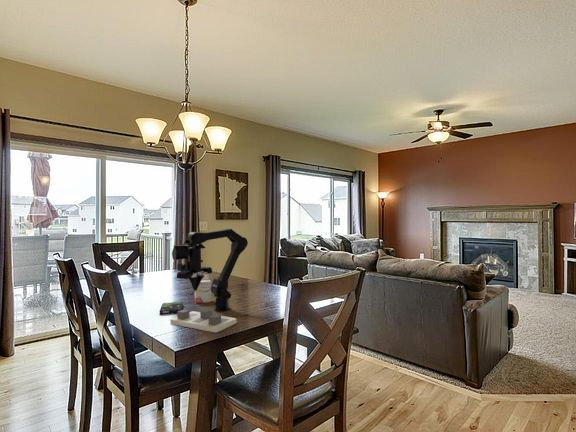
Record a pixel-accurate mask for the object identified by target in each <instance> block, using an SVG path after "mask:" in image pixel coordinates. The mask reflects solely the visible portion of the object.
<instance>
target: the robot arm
mask: <svg viewBox="0 0 576 432" xmlns="http://www.w3.org/2000/svg"><path fill="white" fill-rule="evenodd" d="M224 238H227V239H228V240H229V241H230V242H231V244H230V253H229V255H228V257H227V259H226V262H225V264H224V266H223V268H222V270H221V273H220V274H219V276H218V277H217V278H213V280H212V282H211V294H213V297H214V298H216V299H215V308H213V311H216V312H217V311H218V312H227V311H229V310H231V309H232V307H229V303H230V302H229V299H231V297H232V294H231V292H229V291H228V288H229V279H230V277H231V274H232V272H233V270H234V268H235V265H236V264H237V262H238V259H239V257H240V255H241V254H242V253H243V252H244V251H245V249H246V248H247V246H248V244H249V242H248V239H247V238H246V237H244V236H242V235H240V234H239V233H237V232H236V231H235V230H233V229H232V228H225V229H220V230H213V231H206V232H201V231H198V232H197V231H192V232H191V231H190V232H189V233H188V234H187V236H186V239H185V241H184V242H183V243H182V245H179V244H178V245H177V244H176V245H173V248H172V251H171V257H172V259H173V261H178V260H180V261H181V260H186V263H185V264H184V263H178V264H177V266H176V268H177V271H178V272H177V273H176V279H179V280H180V279H181V280H187V279H188V280H189V282H190V284H191V286H192V288H193V291H194V292H195V291H196V290H197V288H198V286H199V284H200V282H201V280H202V278H205V277H204V275H205V274H203V273H207V275H208V274H209V275H210V274H212V273H213V268H212V267H211V266H202V263H204V260H203V259H202V249H206V246H204V244H203V243H205V242H207V241H210V240H215V239H217V240H218V239H224Z"/></svg>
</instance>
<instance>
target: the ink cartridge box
mask: <svg viewBox="0 0 576 432" xmlns="http://www.w3.org/2000/svg"><path fill="white" fill-rule="evenodd" d="M203 275H204V277H203V278H202V280H201V282H200V284H199V286H198V288H197V290H196V291H195V290H194V303H195V304H200V303H203V304H204V303H212V292H211V284H212V281H211V280H210V276H211V275H210V273H209V274H208V273H207V274H203Z"/></svg>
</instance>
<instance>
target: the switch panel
mask: <svg viewBox="0 0 576 432" xmlns="http://www.w3.org/2000/svg"><path fill="white" fill-rule="evenodd" d="M212 315H214V314H213V313H212ZM237 320H238V319H237V317H236V318H235V317H230V316H224V315H221V323H219V324H217V325H211V324H209V318H208V319H204V318H201V316H200V312H199V311H194V310H192V311H190V317H188V318H186V319H178V318H177V316H176V317H173V318H170V321H169V322H170V325H176V326H180V327H186V328H191V329H196V330H200V331H206V332H211V333H218V332H220V331H223V330H225V329H227V328H229V327H231V326H233V325H235V324H237V323H238V322H237Z"/></svg>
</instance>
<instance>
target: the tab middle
mask: <svg viewBox="0 0 576 432" xmlns="http://www.w3.org/2000/svg"><path fill="white" fill-rule="evenodd" d="M212 314H213V309H208V308H206V309H202V310H201V311H200V316H201V318H204V319H208V318H209V317H210V316H212Z"/></svg>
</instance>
